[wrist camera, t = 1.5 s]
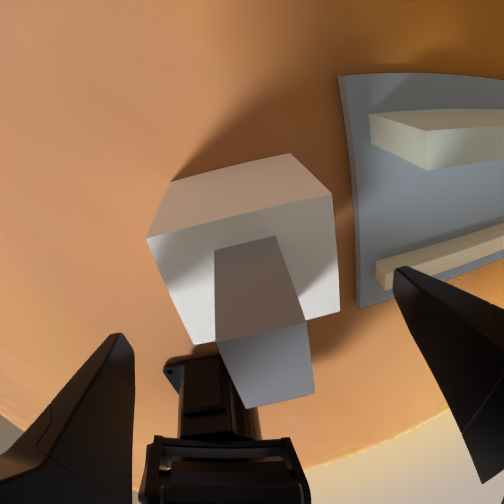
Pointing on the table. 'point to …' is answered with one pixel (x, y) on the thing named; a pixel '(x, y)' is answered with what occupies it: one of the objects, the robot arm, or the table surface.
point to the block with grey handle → (251, 269)
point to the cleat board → (423, 175)
